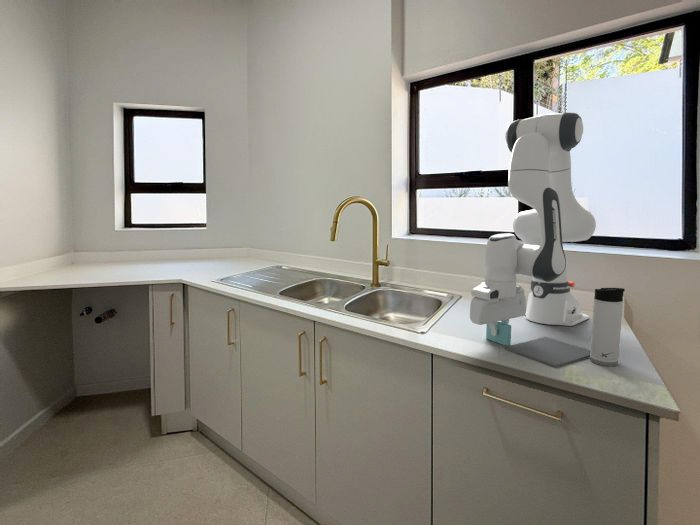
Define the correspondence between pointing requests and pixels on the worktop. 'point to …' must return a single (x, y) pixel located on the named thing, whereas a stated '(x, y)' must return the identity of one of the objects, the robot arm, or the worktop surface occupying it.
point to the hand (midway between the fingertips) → (498, 334)
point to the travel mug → (606, 326)
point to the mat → (550, 351)
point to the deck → (500, 334)
